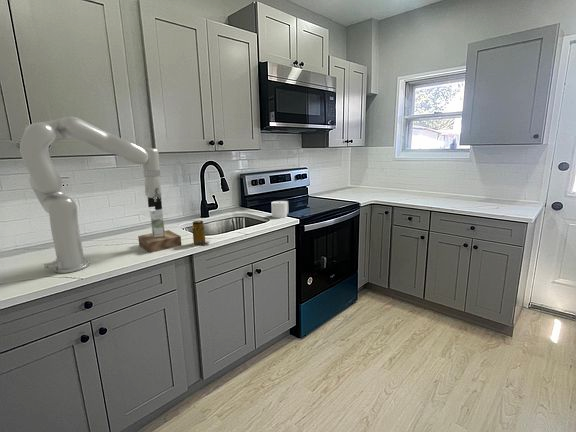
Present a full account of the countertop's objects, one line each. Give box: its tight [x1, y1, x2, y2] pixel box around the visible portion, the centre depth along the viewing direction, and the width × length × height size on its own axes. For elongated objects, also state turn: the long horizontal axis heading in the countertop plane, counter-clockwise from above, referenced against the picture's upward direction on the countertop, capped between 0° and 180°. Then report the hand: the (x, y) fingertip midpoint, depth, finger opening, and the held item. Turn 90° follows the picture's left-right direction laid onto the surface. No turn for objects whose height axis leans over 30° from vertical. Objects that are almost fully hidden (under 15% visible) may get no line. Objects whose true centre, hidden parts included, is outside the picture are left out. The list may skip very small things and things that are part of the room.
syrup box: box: [149, 207, 166, 238], centre depth 162 cm, size 6×6×14 cm
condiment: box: [191, 220, 211, 247], centre depth 166 cm, size 7×8×12 cm
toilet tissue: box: [271, 200, 289, 219], centre depth 224 cm, size 11×12×10 cm
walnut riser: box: [137, 229, 182, 254], centre depth 165 cm, size 16×16×5 cm
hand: (155, 208), depth 161 cm, fingers open, 9 cm apart
